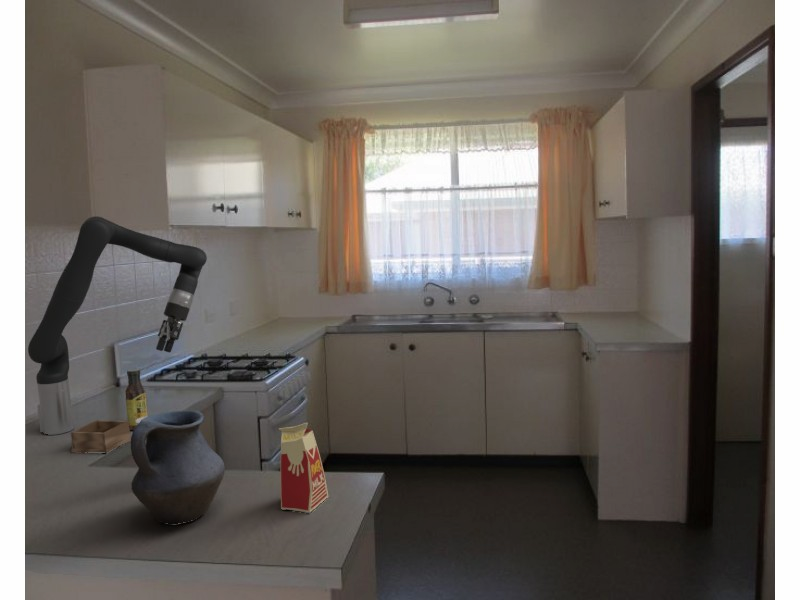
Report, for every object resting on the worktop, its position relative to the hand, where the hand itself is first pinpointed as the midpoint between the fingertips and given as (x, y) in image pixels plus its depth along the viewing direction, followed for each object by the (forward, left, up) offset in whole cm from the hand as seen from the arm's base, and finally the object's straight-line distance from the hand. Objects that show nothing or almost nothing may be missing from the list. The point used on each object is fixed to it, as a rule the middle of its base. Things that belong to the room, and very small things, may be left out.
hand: (163, 351), depth 216 cm
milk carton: (+67, -52, -26) cm, 89 cm away
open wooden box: (-11, -21, -25) cm, 34 cm away
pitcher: (+41, -62, -26) cm, 79 cm away
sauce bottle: (-10, -4, -26) cm, 28 cm away
